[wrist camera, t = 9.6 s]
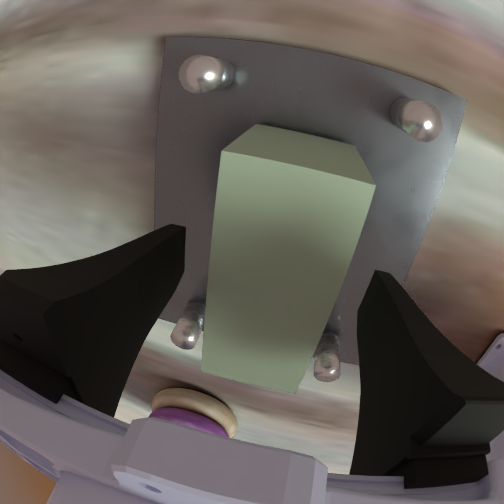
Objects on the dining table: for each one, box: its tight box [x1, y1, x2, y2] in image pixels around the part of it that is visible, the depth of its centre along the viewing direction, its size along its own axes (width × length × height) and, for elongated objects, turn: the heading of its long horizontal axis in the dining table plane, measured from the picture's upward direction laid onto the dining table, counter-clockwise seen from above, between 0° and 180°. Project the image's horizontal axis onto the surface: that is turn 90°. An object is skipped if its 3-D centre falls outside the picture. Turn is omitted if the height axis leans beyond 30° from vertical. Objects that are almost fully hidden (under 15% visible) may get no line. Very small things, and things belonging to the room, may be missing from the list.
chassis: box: [155, 37, 467, 382], centre depth 14 cm, size 16×13×4 cm
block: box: [201, 124, 376, 394], centre depth 12 cm, size 9×4×5 cm, turn 171°
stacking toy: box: [148, 388, 238, 438], centre depth 19 cm, size 8×8×19 cm
